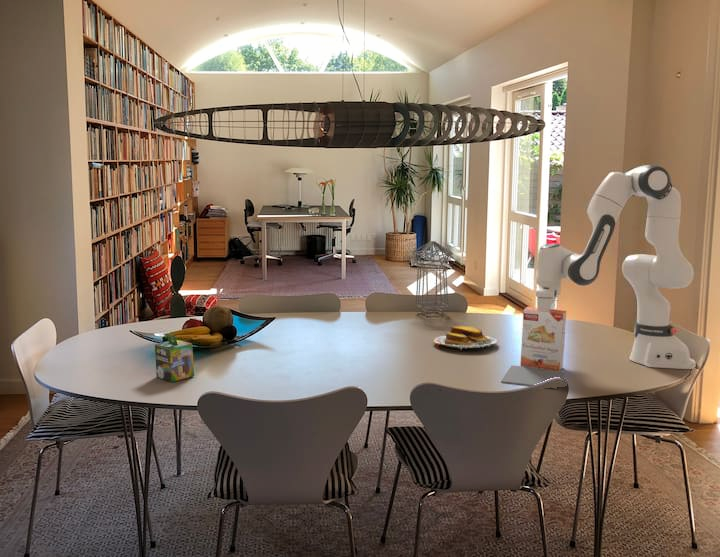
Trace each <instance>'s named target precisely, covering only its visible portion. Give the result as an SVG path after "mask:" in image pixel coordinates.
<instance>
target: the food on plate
mask: <svg viewBox="0 0 720 557" xmlns="http://www.w3.org/2000/svg"><path fill="white" fill-rule="evenodd" d="M497 342H499V340H498V339H497V338H494V337H492V336H488V335H484V334H483V331H482V329H481V328H478V327H475V326H472V325H471V326H470V325H455V326H451V328H450V330H448V331H447V332H446V333H445V335H441V336H437V337H435V338H434V340H433V341H432V343H433V344H436V348H439V345H442V346H445V347H447V348H448V347H449V348H457V349H460V350H462V349H477V348H478V349H480V348H484V347H490V346H491V345H494V344H496V343H497Z"/></svg>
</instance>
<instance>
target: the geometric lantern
mask: <svg viewBox="0 0 720 557" xmlns="http://www.w3.org/2000/svg"><path fill="white" fill-rule="evenodd" d="M434 249H435V250H434ZM419 250H420V251H419ZM429 250H430V252H429ZM439 252H441V254H440V253H439ZM411 253H412V254H413V256H414V258H415V259H416V261H417V264H419V262H420V266H417V277H416V296H415V305H416V306H417V307H418V308H419V309H420V310H421V311H420V312H421V314H422V315H423V316H425V317H430V318H431V317H433V315H431V313H437V315H434V317H443V316H444V311H445V309H447V308H448V307H449V294H448V293H449V292H448V276H447V271H448V269H447V268H446V267H445V266H444V265H443V264H444V263H446V262H447V261H448V260H449V257H450V256H451V255H454V253H453V252H452V251H450V250H449V249H447V248H446V247H444V246H443V245H441V244H440V243H438V242H437V241H436V240H431V241H428V242H427V243H425V244H423V245H422V246H420V247H418V248H417V249H415V250H413V251H412V252H411ZM435 256H438V257H439V259H438V260H435ZM422 258H423V261H422V260H421V259H422ZM432 258H433V259H432ZM426 260H430V261H431V263H430V264H429V265H428V267H426V268H425V267H424V263H425V261H426ZM436 262H439V263H440V267H438V266H437V265H436V264H435V263H436ZM432 264H433V265H434V266H432V267H431V265H432ZM428 269H434V270H428ZM428 272H435V299H434V300H435V301H429V290H428V289H429V288H428V287H429V285H428V279H429V278H428ZM438 272H439V291H440V292H439V293H440V298H439V299H440V301H437V297H438V296H437V295H438ZM441 272H442V274H443V275H442V278H443V280H442V278H441ZM425 274H426V278H425ZM421 278H422V279H421ZM425 279H426V302H424V293H425V292H424V290H425V289H424V287H425ZM421 280H422V289H421ZM442 281H443V294H444V302H443V300H442V299H443V298H442ZM421 290H422V292H421ZM420 294H422V295H421V302H420ZM424 304H426V306H424ZM429 304H435V305H434V306H429ZM437 304H439V305H438V306H437ZM441 305H442V306H441ZM443 305H444V306H443ZM441 308H443V309H441ZM430 310H432V311H430Z"/></svg>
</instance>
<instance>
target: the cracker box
mask: <svg viewBox="0 0 720 557" xmlns="http://www.w3.org/2000/svg"><path fill="white" fill-rule="evenodd" d="M566 320H567V310H562V309H560V310H559V309H554V310H552V309H550V312H543V311H537V307H534V306H526V307H525V308H524V309H523V314H522V328H521V330H522V331H521V346H520V347H521V348H520V366H522V367H531V368H540V369H549V370H558V371H562V370H561V369H562V368H563V367H564V354H565V342H566V341H565V339H566V324H567V323H566V322H567V321H566Z"/></svg>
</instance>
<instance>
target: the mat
mask: <svg viewBox="0 0 720 557" xmlns="http://www.w3.org/2000/svg"><path fill="white" fill-rule="evenodd" d="M564 372H565V371H564V370H560V371H558V370H549V369H541V368H535V367H528V366H521V365H514V364H513V365H510V367H509V369H508V370H507V372H505V374H504V376H503V377H502V379H501V384H502V383H503V384H512V385H517V386H519V385H520V386H527V387H531V386H530V385H534V384H537V383H540V382H543V381H545V380H547V379H550V378H554V377H560V378H561V379H562V378H563V375H564Z"/></svg>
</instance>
